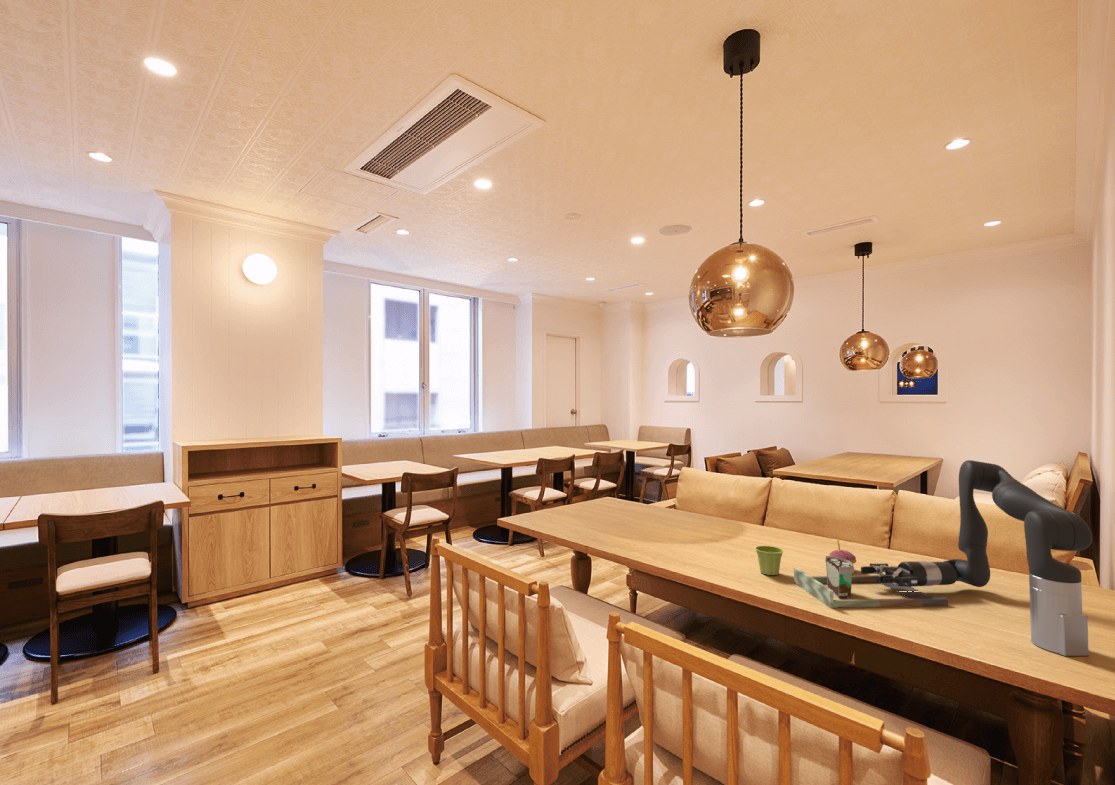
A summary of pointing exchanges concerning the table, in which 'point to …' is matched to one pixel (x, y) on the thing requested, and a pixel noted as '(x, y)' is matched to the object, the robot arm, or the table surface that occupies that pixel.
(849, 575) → the food container
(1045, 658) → the table surface
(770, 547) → the plant pot
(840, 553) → the cupcake
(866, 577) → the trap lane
